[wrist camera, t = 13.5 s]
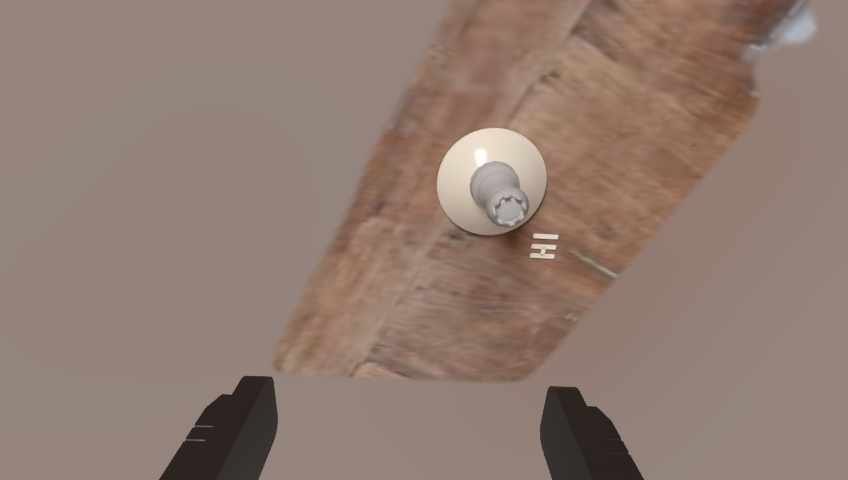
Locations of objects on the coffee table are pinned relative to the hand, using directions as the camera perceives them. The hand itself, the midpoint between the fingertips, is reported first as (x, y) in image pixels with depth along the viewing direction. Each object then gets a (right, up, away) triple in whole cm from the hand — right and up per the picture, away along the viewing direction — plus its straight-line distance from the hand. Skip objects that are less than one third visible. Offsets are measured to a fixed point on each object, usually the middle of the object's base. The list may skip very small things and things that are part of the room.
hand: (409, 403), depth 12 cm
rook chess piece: (+7, +10, +26) cm, 28 cm away
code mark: (+12, +4, +28) cm, 31 cm away
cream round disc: (+7, +10, +26) cm, 29 cm away
